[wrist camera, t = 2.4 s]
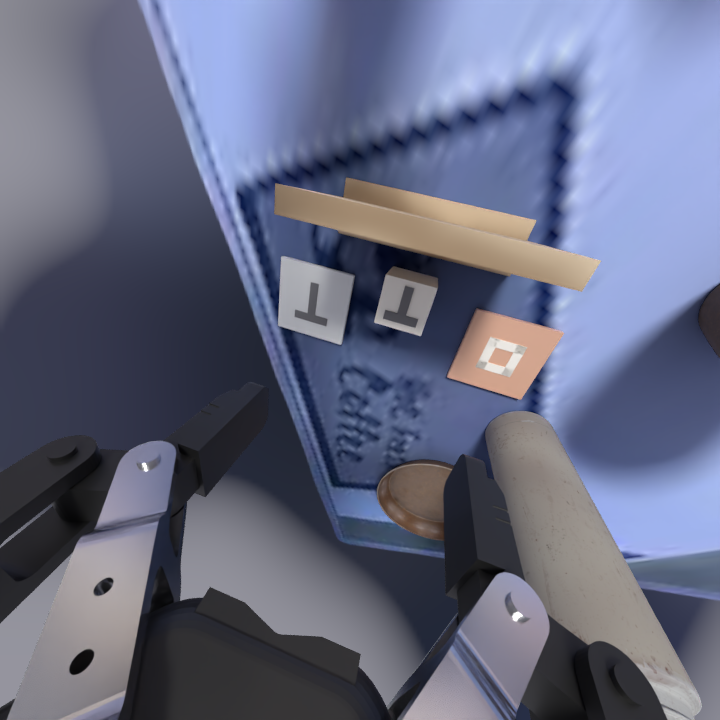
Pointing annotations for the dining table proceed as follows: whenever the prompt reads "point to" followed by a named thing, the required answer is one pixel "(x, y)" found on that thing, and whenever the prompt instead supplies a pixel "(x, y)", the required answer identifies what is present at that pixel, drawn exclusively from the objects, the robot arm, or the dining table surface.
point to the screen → (437, 230)
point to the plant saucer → (416, 496)
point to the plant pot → (711, 319)
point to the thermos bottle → (579, 556)
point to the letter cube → (406, 300)
